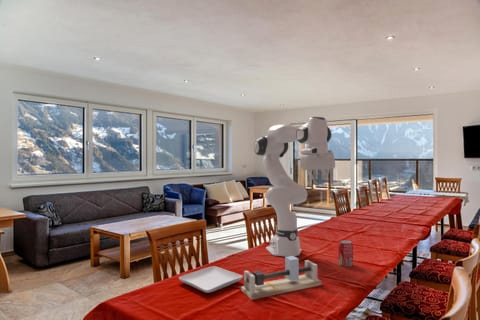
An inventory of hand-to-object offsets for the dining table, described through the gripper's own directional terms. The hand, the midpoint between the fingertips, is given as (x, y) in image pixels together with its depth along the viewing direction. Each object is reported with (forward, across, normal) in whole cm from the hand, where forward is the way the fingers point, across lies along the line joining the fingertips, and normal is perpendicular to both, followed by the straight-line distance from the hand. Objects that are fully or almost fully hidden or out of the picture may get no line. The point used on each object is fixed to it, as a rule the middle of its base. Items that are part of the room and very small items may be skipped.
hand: (318, 178), depth 156 cm
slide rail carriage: (+42, +22, +5) cm, 48 cm away
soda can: (+45, -18, +1) cm, 49 cm away
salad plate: (+46, +50, -18) cm, 70 cm away
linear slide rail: (+45, +27, +4) cm, 53 cm away
